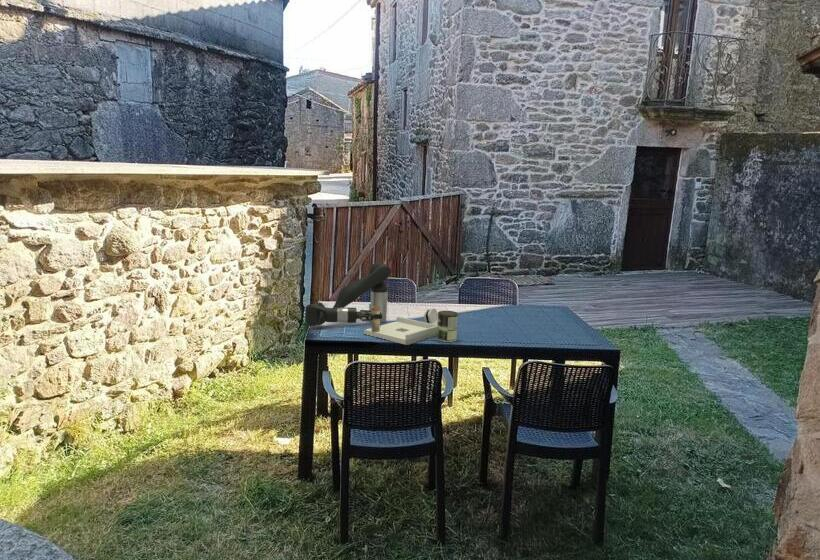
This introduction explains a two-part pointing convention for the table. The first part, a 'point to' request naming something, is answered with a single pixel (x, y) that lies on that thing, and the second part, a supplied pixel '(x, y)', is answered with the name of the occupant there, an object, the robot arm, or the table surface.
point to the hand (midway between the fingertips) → (381, 315)
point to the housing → (405, 331)
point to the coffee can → (447, 326)
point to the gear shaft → (375, 321)
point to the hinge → (431, 316)
